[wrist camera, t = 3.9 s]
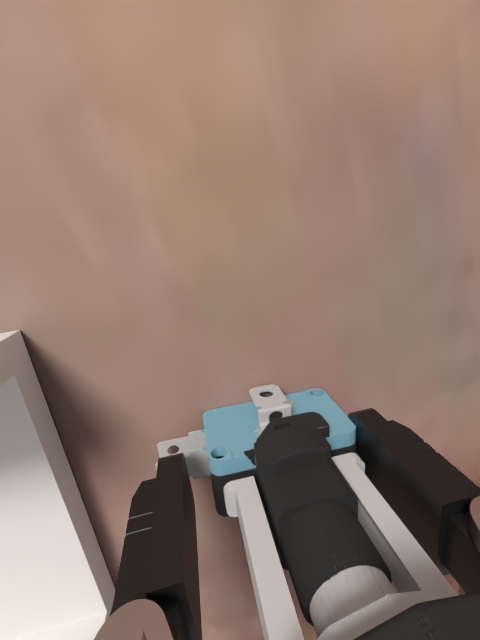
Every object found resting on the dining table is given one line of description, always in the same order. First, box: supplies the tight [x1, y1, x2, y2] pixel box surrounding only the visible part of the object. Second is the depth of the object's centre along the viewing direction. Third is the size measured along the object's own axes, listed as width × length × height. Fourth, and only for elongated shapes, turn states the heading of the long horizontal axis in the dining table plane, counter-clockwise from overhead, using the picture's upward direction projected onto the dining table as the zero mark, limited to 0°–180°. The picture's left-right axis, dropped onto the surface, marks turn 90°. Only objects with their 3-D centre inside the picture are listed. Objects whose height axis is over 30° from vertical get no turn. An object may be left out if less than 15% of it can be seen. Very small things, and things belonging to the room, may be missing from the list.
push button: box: [155, 384, 480, 640], centre depth 7 cm, size 7×5×10 cm
